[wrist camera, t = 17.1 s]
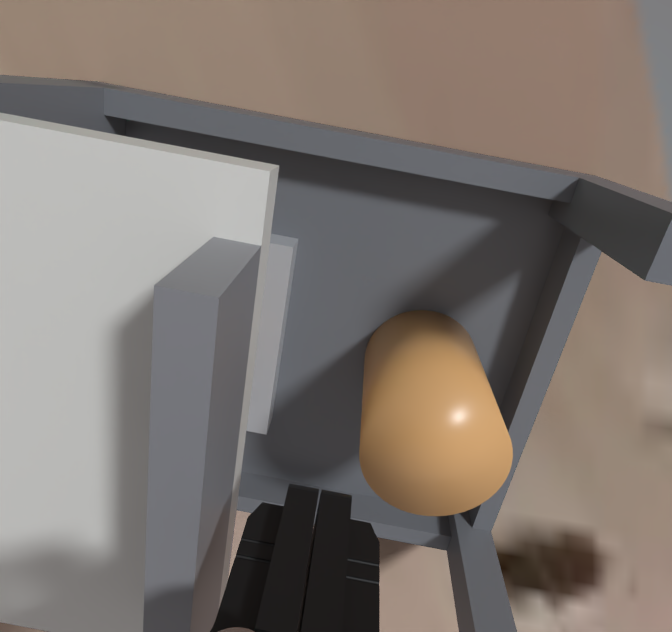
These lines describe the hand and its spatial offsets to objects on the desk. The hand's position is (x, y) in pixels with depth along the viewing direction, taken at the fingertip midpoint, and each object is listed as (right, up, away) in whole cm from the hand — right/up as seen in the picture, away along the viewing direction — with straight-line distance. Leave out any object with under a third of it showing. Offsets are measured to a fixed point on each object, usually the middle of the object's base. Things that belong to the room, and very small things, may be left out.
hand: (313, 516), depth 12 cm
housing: (0, +4, +9) cm, 10 cm away
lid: (-5, +2, +2) cm, 6 cm away
